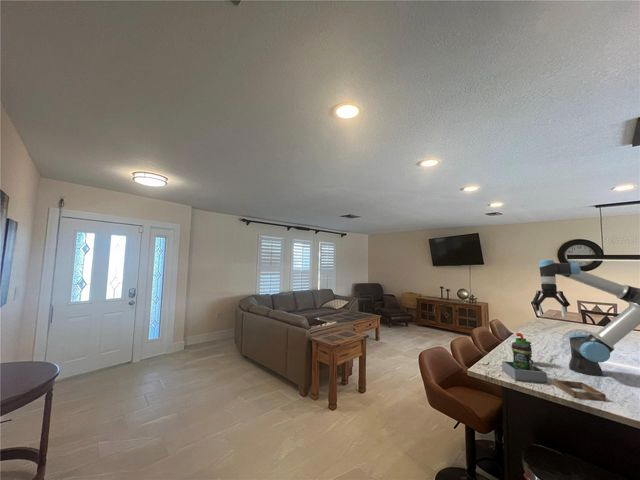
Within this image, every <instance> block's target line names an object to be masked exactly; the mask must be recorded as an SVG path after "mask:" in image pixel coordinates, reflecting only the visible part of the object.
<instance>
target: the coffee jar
mask: <svg viewBox="0 0 640 480" xmlns="http://www.w3.org/2000/svg"><path fill="white" fill-rule="evenodd" d="M530 345H531V344H530ZM530 345H528V344H523V343H518V342H516V341H514V342H512V343H511V351H512V354H513V357H512V358H513V359H512V360H513V361H512V362H513V368H514V369H517V370H529V371H533V368H532V362H531V360H532V357H531V355H532V354H531V353H533V350H532V349H531V348H532V345H531V346H530Z"/></svg>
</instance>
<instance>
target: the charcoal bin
mask: <svg viewBox="0 0 640 480" xmlns="http://www.w3.org/2000/svg"><path fill="white" fill-rule="evenodd" d="M532 368H533V371H529V370H517V369H514V368H513V361H507V360H501V369H502V370H501V371H502V372H504V373H505V374H506V375H508V376H509V377H510V378H511V379H513V380H514V381H515V382H527V383H536V384H548V373H547V372H546V370H545V371H544V370H543V369H541V368H540V367H537V366H536V365H534V363H533V364H532Z"/></svg>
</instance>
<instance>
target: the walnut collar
mask: <svg viewBox="0 0 640 480" xmlns="http://www.w3.org/2000/svg"><path fill="white" fill-rule="evenodd" d="M553 383H554V386H555V387H556V388H558V389H560V390H561V391H563V392H565V393H566V394H568V395H569V396H571V397H573V398H574V399H579V400H580V399H584V400H591V401H601V402H606V401H607V397H606V394H605V393H603V392H602V391H600V390H597V389H595V388H593V387H592V386H590V385H588V384H586V383H584V382H582V381H574V380H573V381H572V380H563V379H562V380H561V379H554V380H553ZM573 388H574V389H581V390H584V391H580V390H574V389H573Z"/></svg>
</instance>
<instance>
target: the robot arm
mask: <svg viewBox="0 0 640 480" xmlns="http://www.w3.org/2000/svg"><path fill="white" fill-rule="evenodd" d="M538 264H539V274H540V283H541V284H540V285H541V286H540V287H541V290H536V293H535V296H534V298H533V300H532V302H531V305H534V306H535V311H537V316H539V317H542V306H541V304H542V303H543V302H544V301H545V299H548V298H549V299H551V298H552V299H555V300H556V301H557V302H558V303H559V304H560V305H561V306H560V310H561V317H562V318H567V312H568V307H570V306H571V304H570V302H569V301H568V299H567V298H566V296H565V294H564V292H563V290H558V286H557V284H556V283H557V279H556V278H557V276H556V275H559V276H562V277H565V278H567V279H570V280H573V281H574V282H575V281H576V282H579V283H580V284H582V285H583V284H584V285H586V286H589V287H591V288H594V289H597V290H600V291H603V292H605V293H608V294H610V295H613V296H615V297H616V298H617V299H619V300H622V301H624V302H626V303H628V306H627V308H625V309H624V310H622V312H621V313H619V314H618V315H617V316H615V318H613V319H612V320H611V321H610V322H608V323H607V324H606V325H605V326H603V327H602V328H601V329H600V330H599V331H597V332H596V333H589V334H582V333H581V334H579V333H570V334H569V335H568V336H569V338H568V339H569V345H570V355H571V358H570V359H569V364H568V368H569V369H570V371H573V372H576V373H578V374H583V375H589V376H596V377H599V376H603V375H604V374H603V370H602V368H601V365H600V364H599V363H604V362H607V361H608V360H609V359H610V358H611V353H612V352H613V351H615V347H614V345H617V343H619V342H620V341H621V340H622V339H624V338H625V337H626V336H627V335H629V334H630V333H631V332H632V331H634V329H636V328H637V327H639V326H640V288H639V287H635V286H631V285H627V284H624V285H623V284H620V283H618V282H614V281H612V280H609V279H606V278H603V277H600V276H598V275H595V274H593V273H589V272H587V271H584V270H581V265H580V264H579V263H578V262H555V260H554V259H541V260H539V262H538ZM541 294H542V295H541Z"/></svg>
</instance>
